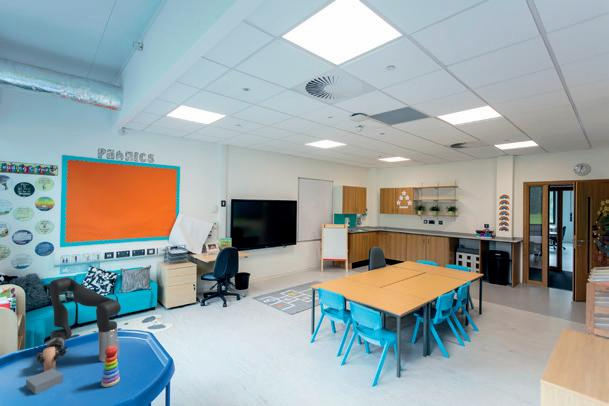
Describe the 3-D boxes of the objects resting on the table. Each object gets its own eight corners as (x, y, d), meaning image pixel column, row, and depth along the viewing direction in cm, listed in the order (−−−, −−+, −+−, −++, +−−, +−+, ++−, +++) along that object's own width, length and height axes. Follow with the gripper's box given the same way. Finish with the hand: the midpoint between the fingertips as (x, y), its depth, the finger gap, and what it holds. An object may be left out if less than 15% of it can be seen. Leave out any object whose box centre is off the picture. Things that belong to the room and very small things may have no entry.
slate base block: (53, 375, 159) (53, 368, 159) (62, 381, 154) (62, 374, 154) (26, 387, 150) (26, 379, 150) (35, 394, 144) (35, 386, 144)
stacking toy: (110, 388, 148) (110, 351, 148) (97, 386, 150) (96, 350, 149) (123, 379, 156) (122, 343, 156) (110, 377, 158) (109, 342, 157)
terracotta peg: (53, 366, 167) (52, 345, 167) (57, 369, 165) (56, 348, 164) (42, 371, 163) (41, 349, 162) (46, 374, 160) (45, 352, 160)
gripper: (39, 343, 172) (30, 357, 157) (70, 337, 179) (65, 350, 165) (39, 355, 172) (30, 371, 158) (70, 349, 179) (65, 363, 165)
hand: (48, 360), depth 161 cm, fingers closed on terracotta peg, 5 cm apart
